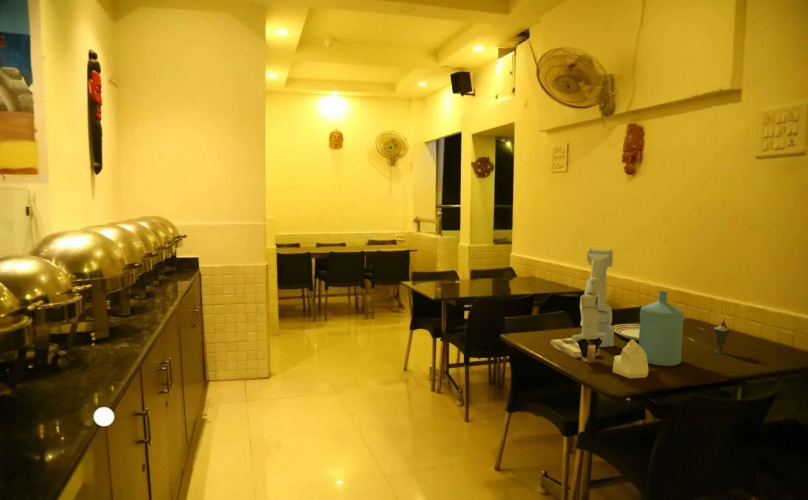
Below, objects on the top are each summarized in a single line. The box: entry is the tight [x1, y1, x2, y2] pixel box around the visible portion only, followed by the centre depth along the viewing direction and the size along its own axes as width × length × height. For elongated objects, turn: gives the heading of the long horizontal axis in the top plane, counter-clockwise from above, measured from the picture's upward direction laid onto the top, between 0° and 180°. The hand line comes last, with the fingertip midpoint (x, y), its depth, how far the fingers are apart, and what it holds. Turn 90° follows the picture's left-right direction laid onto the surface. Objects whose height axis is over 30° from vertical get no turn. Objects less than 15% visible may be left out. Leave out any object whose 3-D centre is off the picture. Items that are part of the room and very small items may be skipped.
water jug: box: [638, 290, 685, 367], centre depth 207 cm, size 16×16×28 cm
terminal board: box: [550, 337, 601, 359], centre depth 221 cm, size 12×18×6 cm, turn 16°
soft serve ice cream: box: [612, 339, 649, 379], centre depth 192 cm, size 12×15×14 cm
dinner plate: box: [612, 323, 640, 342], centre depth 242 cm, size 28×27×3 cm
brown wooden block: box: [581, 343, 596, 364], centre depth 207 cm, size 4×4×7 cm
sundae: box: [712, 318, 732, 355], centre depth 217 cm, size 7×7×15 cm
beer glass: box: [579, 295, 583, 327], centre depth 261 cm, size 7×7×15 cm
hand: (588, 357), depth 207 cm, fingers closed on brown wooden block, 3 cm apart
